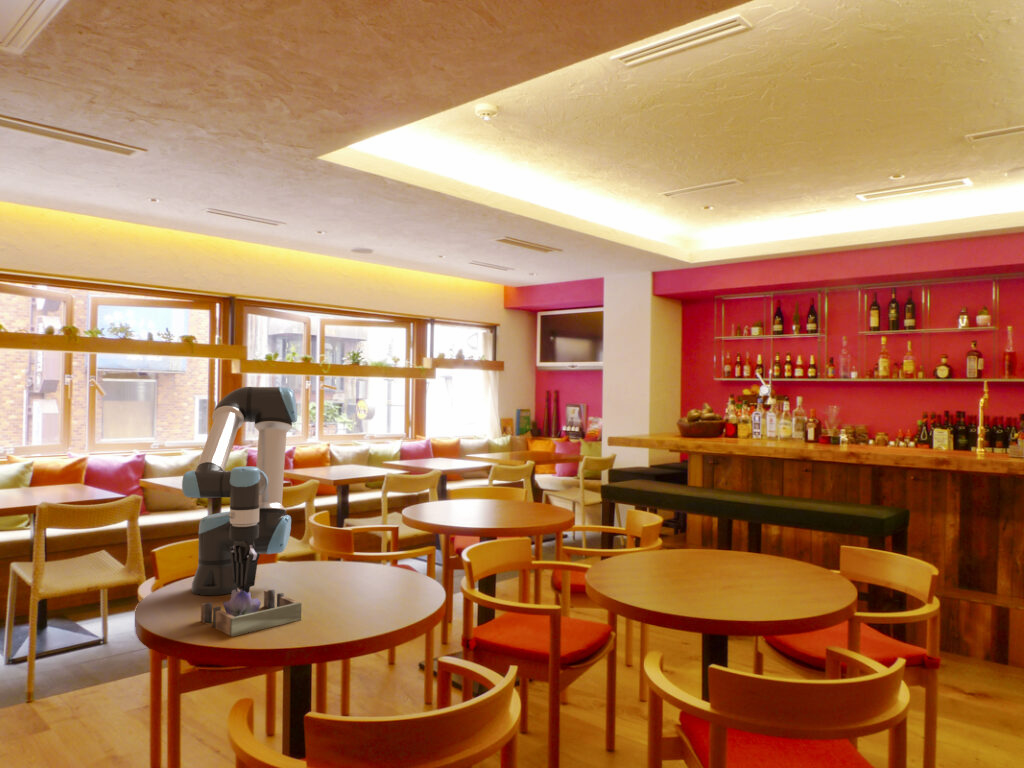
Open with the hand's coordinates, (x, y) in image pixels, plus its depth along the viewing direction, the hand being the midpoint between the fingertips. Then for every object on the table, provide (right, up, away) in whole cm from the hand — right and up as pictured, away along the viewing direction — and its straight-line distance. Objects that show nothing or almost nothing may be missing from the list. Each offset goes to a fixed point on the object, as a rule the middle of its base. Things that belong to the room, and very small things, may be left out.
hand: (243, 611), depth 192 cm
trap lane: (+3, -1, -3) cm, 5 cm away
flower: (+2, -2, -5) cm, 6 cm away
